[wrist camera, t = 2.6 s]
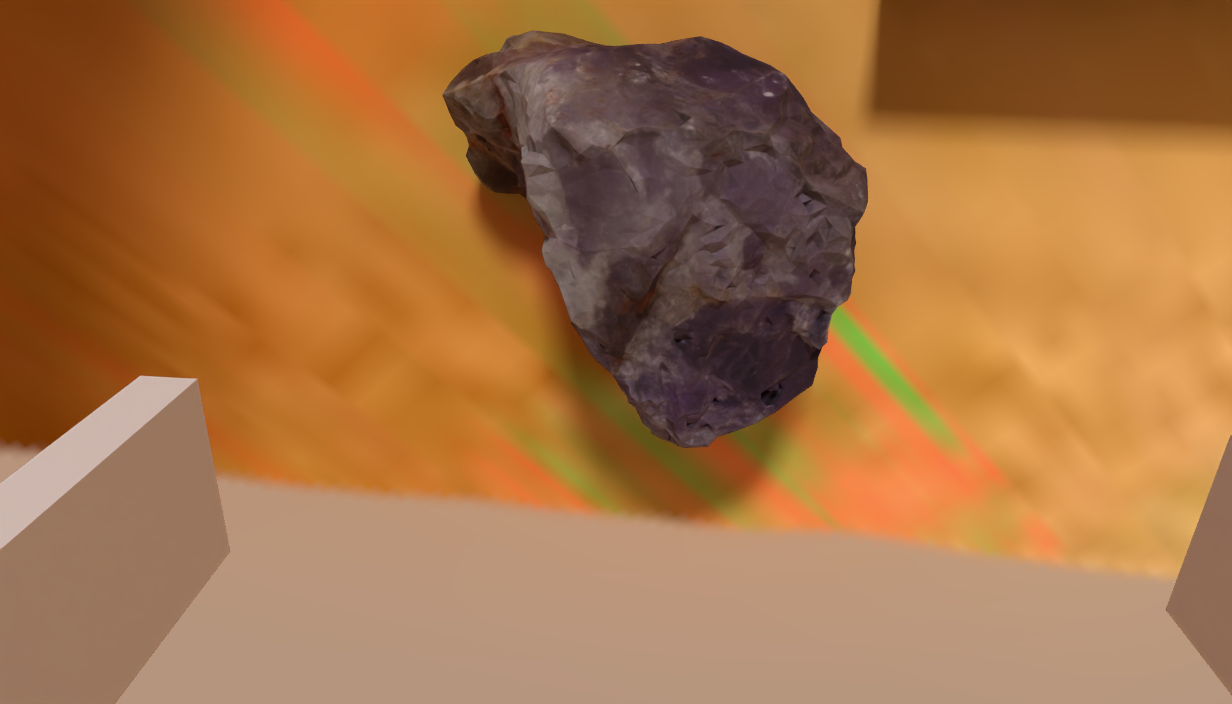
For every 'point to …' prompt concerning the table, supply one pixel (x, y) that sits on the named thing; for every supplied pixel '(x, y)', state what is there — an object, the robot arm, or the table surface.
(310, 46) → the table surface
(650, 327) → the rock
